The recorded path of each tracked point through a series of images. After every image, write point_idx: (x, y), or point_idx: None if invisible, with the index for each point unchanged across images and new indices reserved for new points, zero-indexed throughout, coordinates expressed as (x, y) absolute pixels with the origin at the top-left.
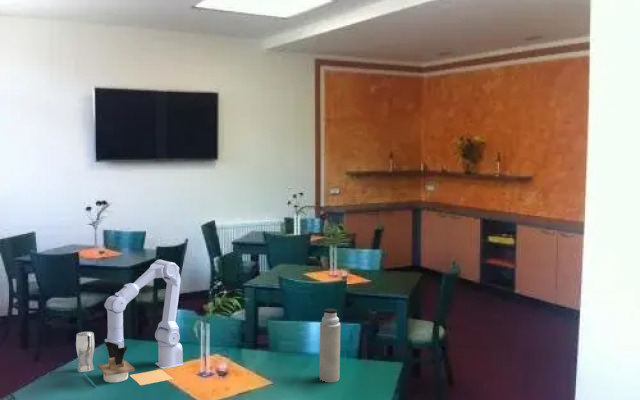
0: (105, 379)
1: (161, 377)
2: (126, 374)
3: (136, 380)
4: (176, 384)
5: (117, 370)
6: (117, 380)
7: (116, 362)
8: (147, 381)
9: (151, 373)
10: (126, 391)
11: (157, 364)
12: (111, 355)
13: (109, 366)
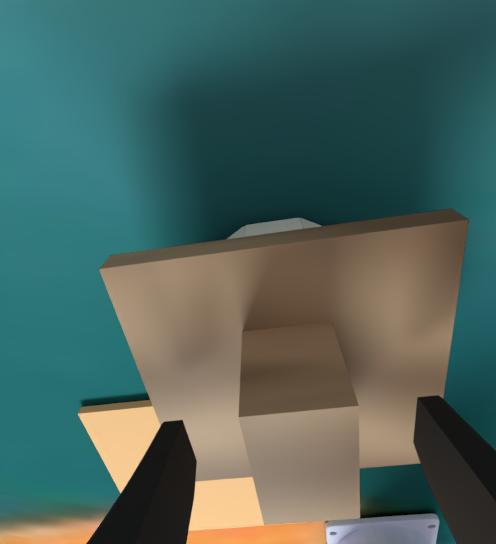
0: (245, 233)
1: None
2: None
3: None
4: (78, 525)
5: (171, 376)
6: None
7: (151, 448)
8: (137, 449)
9: None
10: (3, 327)
11: (404, 523)
12: (441, 451)
13: (294, 335)
